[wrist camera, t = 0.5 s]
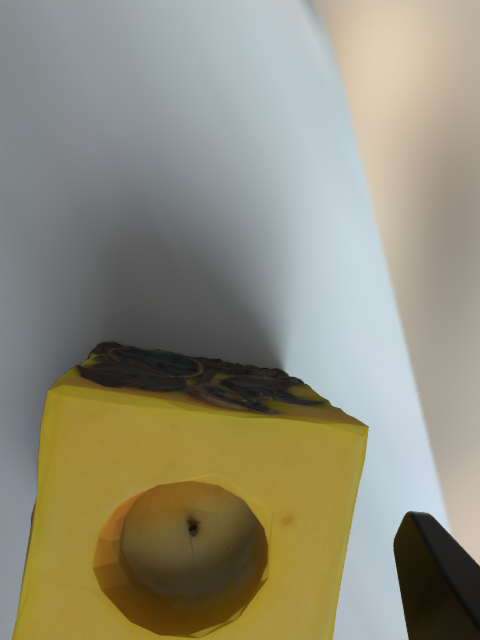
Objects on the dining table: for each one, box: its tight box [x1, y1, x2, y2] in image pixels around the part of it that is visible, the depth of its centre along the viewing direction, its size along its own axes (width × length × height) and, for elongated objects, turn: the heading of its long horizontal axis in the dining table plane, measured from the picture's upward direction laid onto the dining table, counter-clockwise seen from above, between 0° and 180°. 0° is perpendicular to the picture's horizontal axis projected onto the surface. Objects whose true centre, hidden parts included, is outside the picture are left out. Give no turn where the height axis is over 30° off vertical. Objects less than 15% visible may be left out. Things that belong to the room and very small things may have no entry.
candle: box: [12, 342, 369, 640], centre depth 18 cm, size 10×10×10 cm
